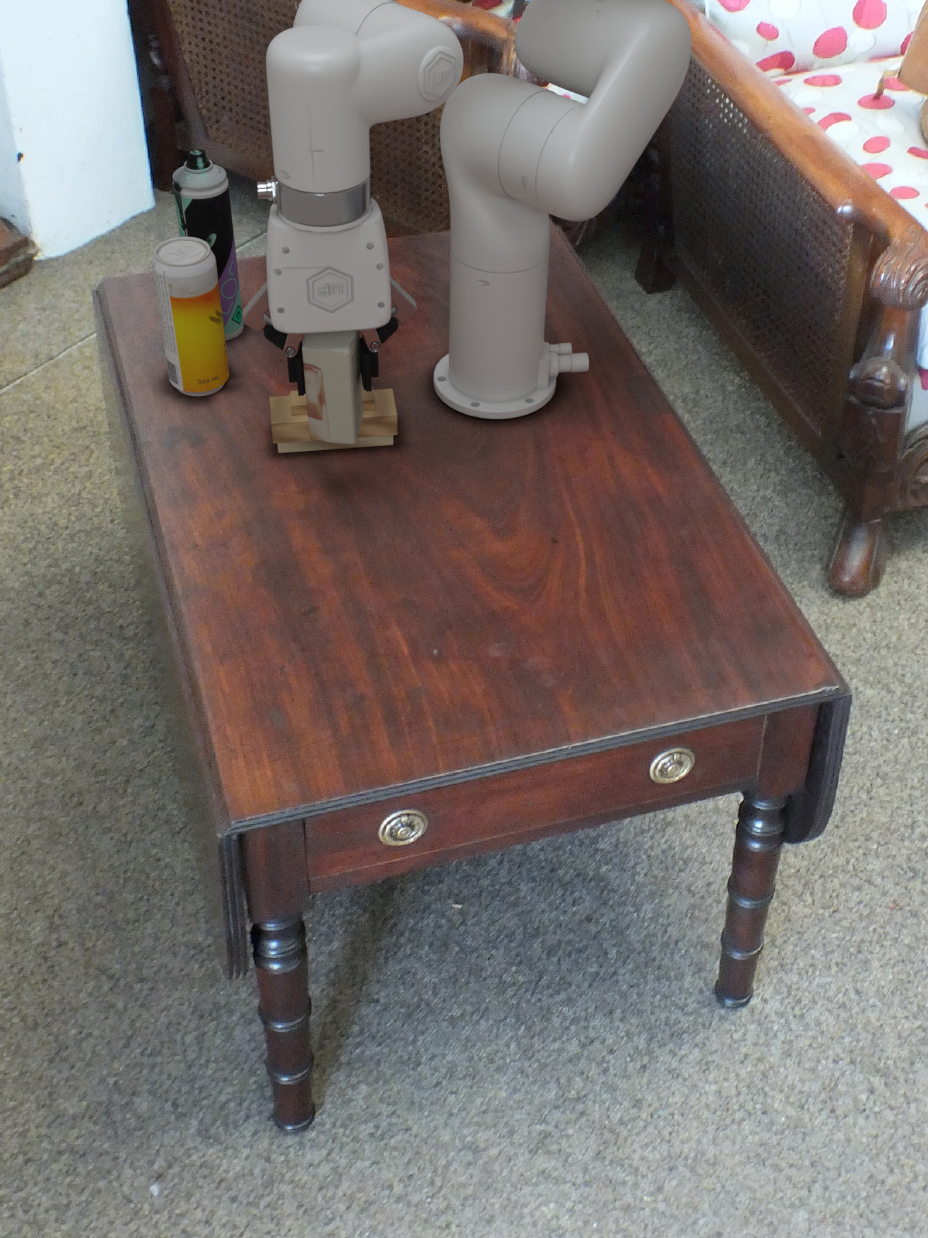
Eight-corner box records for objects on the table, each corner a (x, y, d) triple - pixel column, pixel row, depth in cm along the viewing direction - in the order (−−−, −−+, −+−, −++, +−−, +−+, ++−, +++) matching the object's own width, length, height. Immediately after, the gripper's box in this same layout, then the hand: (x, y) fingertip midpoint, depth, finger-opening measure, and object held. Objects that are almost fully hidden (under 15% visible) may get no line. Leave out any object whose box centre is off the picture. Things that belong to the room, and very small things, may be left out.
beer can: (242, 381, 142) (227, 250, 132) (195, 406, 139) (176, 273, 128) (204, 358, 145) (187, 228, 135) (158, 382, 142) (136, 250, 131)
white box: (317, 408, 128) (312, 313, 121) (364, 413, 127) (361, 318, 120) (306, 442, 124) (299, 346, 117) (354, 447, 124) (350, 351, 117)
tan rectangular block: (393, 419, 138) (392, 378, 134) (397, 446, 135) (396, 404, 131) (272, 428, 136) (268, 386, 133) (274, 455, 133) (269, 412, 130)
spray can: (222, 347, 147) (200, 169, 133) (182, 332, 149) (156, 155, 135) (254, 324, 150) (236, 148, 136) (214, 309, 152) (193, 134, 138)
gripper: (215, 221, 106) (237, 416, 119) (436, 211, 108) (435, 403, 121) (214, 176, 111) (235, 367, 124) (424, 167, 113) (424, 355, 126)
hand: (333, 383), depth 122 cm, fingers closed on white box, 5 cm apart
